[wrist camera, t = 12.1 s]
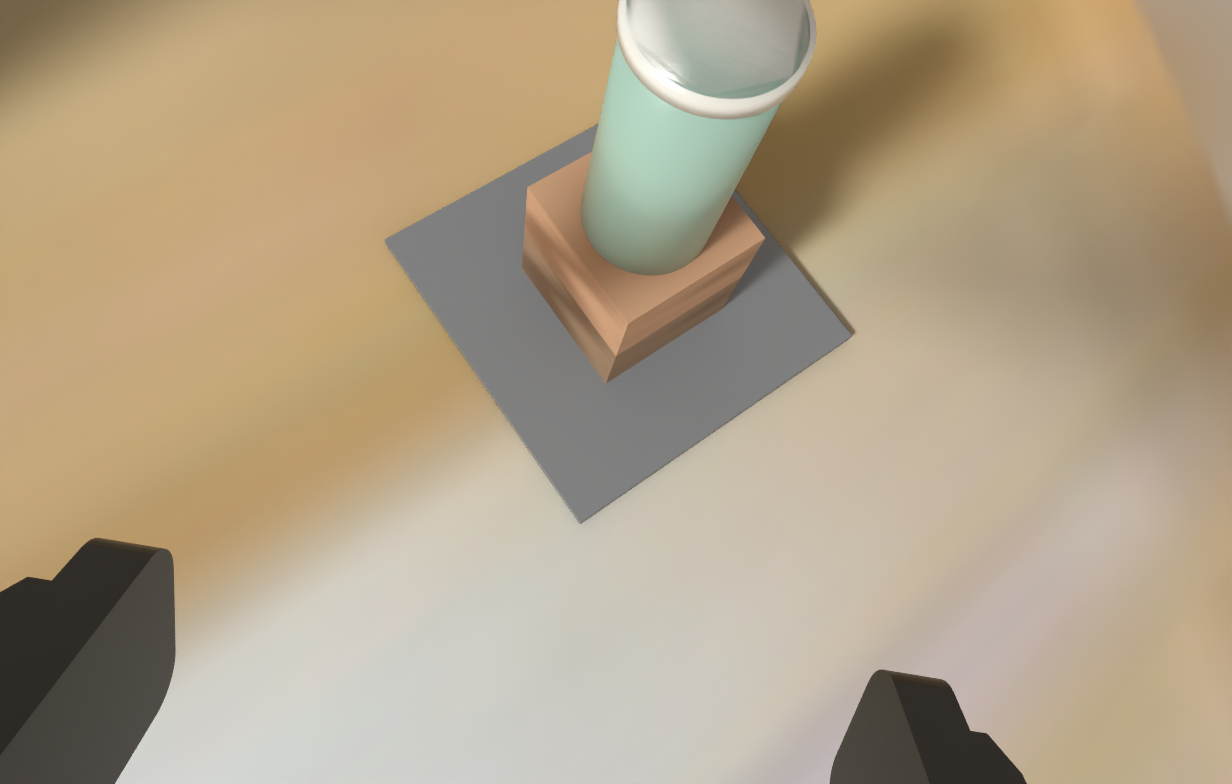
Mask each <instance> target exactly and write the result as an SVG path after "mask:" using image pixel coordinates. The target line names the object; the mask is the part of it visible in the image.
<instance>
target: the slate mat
mask: <svg viewBox="0 0 1232 784" xmlns="http://www.w3.org/2000/svg"><path fill="white" fill-rule="evenodd" d="M597 128H598V124H597V125H595V126H593V127H591V128H589V129H588V130H586V131H584V132H582V133H580V134H578V135H577V136H575V137H573V138H571V139H569V140H567V141H565V142H564V143H562V144H560V145H558V146H556V147H554V148H553V149H551V150H549V151H547V152H545V153H543V154H542V155H540V156H538V157H536V158H534V159H532V160H530V161H529V162H527V163H525V164H523V165H521V166H519V167H518V168H516V169H514V170H512V171H510V172H508V173H506V174H505V175H503V176H501V177H499V178H497V179H495V180H494V181H492V182H490V183H488V184H486V185H484V186H483V187H481V188H479V189H477V190H475V191H473V192H471V193H470V194H468V195H466V196H464V197H462V198H460V199H459V200H457V201H455V202H453V203H451V204H449V205H447V206H446V207H444V208H442V209H440V210H438V211H436V212H435V213H433V214H431V215H429V216H427V217H425V218H423V219H422V220H420V221H418V222H416V223H414V224H412V225H411V226H409V227H407V228H405V229H403V230H401V231H400V232H398V233H396V234H394V235H392V236H390V237H388V238H387V239H385V243H386V245H387V246H388V248H389V249H390V251H391V252H392V254H393V255H394V257H395V258H396V259H397V261H398V262H399V264H400V265H401V267H402V268H403V270H404V271H405V272H406V274H407V275H408V277H409V278H410V280H411V281H412V283H413V284H414V285H415V287H416V288H417V290H418V291H419V293H420V294H421V295H422V297H423V298H424V300H425V301H426V303H427V304H428V306H429V307H430V308H431V310H432V311H433V313H434V314H435V316H436V317H437V319H438V320H439V321H440V323H441V324H442V326H443V327H444V329H445V330H446V332H447V333H448V334H449V336H450V337H451V339H452V340H453V342H454V343H455V344H456V346H457V347H458V349H459V350H460V352H461V353H462V355H463V356H464V357H465V359H466V360H467V362H468V363H469V365H470V366H471V368H472V369H473V370H474V372H475V373H476V375H477V376H478V378H479V379H480V381H481V382H482V383H483V385H484V386H485V388H486V389H487V391H488V392H489V394H490V395H491V396H492V398H493V399H494V401H495V402H496V404H497V405H498V406H499V408H500V409H501V411H502V412H503V414H504V415H505V417H506V418H507V419H508V421H509V422H510V424H511V425H512V427H513V428H514V430H515V431H516V432H517V434H518V435H519V437H520V438H521V440H522V441H523V443H524V444H525V445H526V447H527V448H528V450H529V451H530V453H531V454H532V455H533V457H534V458H535V460H536V461H537V463H538V464H539V466H540V467H541V468H542V470H543V471H544V473H545V474H546V476H547V477H548V479H549V480H550V481H551V483H552V484H553V486H554V487H555V489H556V490H557V492H558V493H559V494H560V496H561V497H562V499H563V500H564V502H565V503H566V505H567V506H568V507H569V509H570V510H571V512H572V513H573V515H574V516H575V517H576V519H577V520H578V522H579V523H580V524H581V523H582V522H584V521H585V520H587V519H588V518H590V517H591V516H593V515H594V514H596V513H597V512H598V511H600V510H601V509H603V508H604V507H606V506H607V505H609V504H610V503H611V502H613V501H614V500H616V499H617V498H619V497H620V496H622V495H623V494H625V493H626V492H627V491H629V490H630V489H632V488H633V487H635V486H636V485H638V484H639V483H641V482H642V481H643V480H645V479H646V478H648V477H649V476H651V475H652V474H654V473H655V472H656V471H658V470H659V469H661V468H662V467H664V466H665V465H667V464H668V463H670V462H671V461H672V460H674V459H675V458H677V457H678V456H680V455H681V454H683V453H684V452H685V451H687V450H688V449H690V448H691V447H693V446H694V445H696V444H697V443H699V442H700V441H701V440H703V439H704V438H706V437H707V436H709V435H710V434H712V433H713V432H715V431H716V430H717V429H719V428H720V427H722V426H723V425H725V424H726V423H728V422H729V421H730V420H732V419H733V418H735V417H736V416H738V415H739V414H741V413H742V412H744V411H745V410H746V409H748V408H749V407H751V406H752V405H754V404H755V403H757V402H758V401H760V400H761V399H762V398H764V397H765V396H767V395H768V394H770V393H771V392H773V391H774V390H775V389H777V388H778V387H780V386H781V385H783V384H784V383H786V382H787V381H789V380H790V379H791V378H793V377H794V376H796V375H797V374H799V373H800V372H802V371H803V370H805V369H806V368H807V367H809V366H810V365H812V364H813V363H815V362H816V361H818V360H819V359H820V358H822V357H823V356H825V355H826V354H828V353H829V352H831V351H832V350H834V349H835V348H836V347H838V346H839V345H841V344H842V343H844V342H845V341H847V340H848V339H849V338H850V337H851V334H850V333H849V332H848V331H847V329H846V328H845V327H844V326H843V324H842V323H841V322H840V321H839V319H838V318H837V317H836V315H835V314H834V313H833V312H832V310H831V309H830V308H829V307H828V305H827V304H826V303H825V302H824V300H823V299H822V298H821V297H820V295H819V294H818V293H817V292H816V290H815V289H814V288H813V287H812V285H811V284H810V283H809V281H808V280H807V279H806V278H805V276H804V275H803V274H802V273H801V271H800V270H799V269H798V268H797V266H796V265H795V264H794V263H793V261H792V260H791V259H790V258H789V256H788V255H787V254H786V253H785V251H784V250H783V249H782V248H781V246H780V245H779V244H778V242H777V241H776V240H775V239H774V237H773V236H772V235H771V234H770V232H769V231H768V230H767V229H766V227H765V226H764V225H763V224H762V222H761V221H760V220H759V219H758V217H757V216H756V215H755V214H754V212H753V211H752V210H751V208H750V207H749V206H748V205H747V203H746V202H745V201H744V200H743V198H742V197H741V196H740V195H739V193H738V192H737V191H736V190H734V192H733V194H732V196H733V198H734V199H735V200H736V201H737V203H738V204H739V205H740V207H741V208H742V209H743V210H744V212H745V213H746V214H747V215H748V217H749V218H750V219H751V220H752V222H753V223H754V224H755V225H756V227H757V228H758V229H759V231H760V232H761V233H762V234H763V236H764V237H765V239H764V241H763V243H762V244H761V246H760V248H759V249H758V251H757V252H756V254H755V256H754V257H753V259H752V261H751V262H750V264H749V266H748V267H747V269H746V270H745V272H744V274H743V275H742V277H741V279H740V280H739V282H738V284H737V285H736V287H735V288H734V290H733V292H732V293H731V295H730V297H729V298H728V300H727V302H726V303H725V305H724V306H723V308H722V309H721V310H720V311H718V312H717V313H715V314H713V315H712V316H710V317H709V318H707V319H706V320H704V321H703V322H701V323H699V324H698V325H696V326H695V327H693V328H692V329H690V330H689V331H687V332H685V333H684V334H682V335H681V336H679V337H678V338H676V339H675V340H673V341H671V342H670V343H668V344H667V345H665V346H664V347H662V348H661V349H659V350H657V351H656V352H654V353H653V354H651V355H650V356H648V357H647V358H645V359H643V360H642V361H640V362H639V363H637V364H636V365H634V366H633V367H631V368H629V369H628V370H626V371H625V372H623V373H622V374H620V375H619V376H617V377H615V378H614V379H612V380H611V381H609V382H608V383H605V382H604V381H603V379H602V378H601V376H600V375H599V374H598V372H597V371H596V370H595V368H594V367H593V365H592V364H591V363H590V361H589V360H588V359H587V357H586V356H585V354H584V353H583V352H582V350H581V349H580V347H579V346H578V345H577V343H576V342H575V341H574V339H573V338H572V336H571V335H570V334H569V332H568V331H567V330H566V328H565V327H564V325H563V324H562V323H561V321H560V320H559V318H558V317H557V316H556V314H555V313H554V312H553V310H552V309H551V307H550V306H549V305H548V303H547V302H546V301H545V299H544V298H543V296H542V295H541V294H540V292H539V291H538V289H537V288H536V287H535V285H534V284H533V283H532V281H531V280H530V278H529V277H528V276H527V274H526V273H525V272H524V270H523V269H522V257H523V243H524V229H525V214H526V200H527V187H529V186H531V185H532V184H534V183H536V182H538V181H540V180H541V179H543V178H545V177H547V176H549V175H550V174H552V173H554V172H556V171H558V170H560V169H561V168H563V167H565V166H567V165H569V164H570V163H572V162H574V161H576V160H578V159H580V158H581V157H583V156H585V155H587V154H589V153H590V152H592V150H593V146H594V141H595V137H596V132H597Z"/></svg>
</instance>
